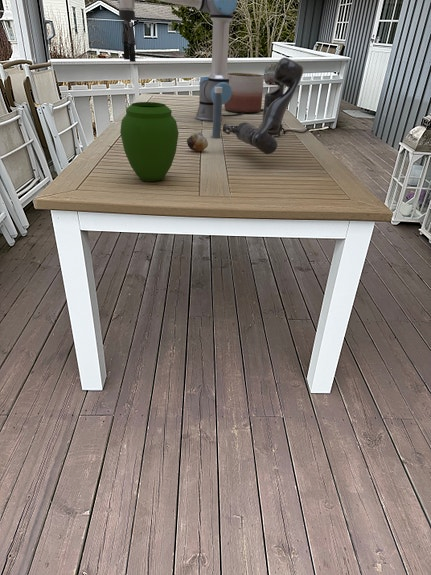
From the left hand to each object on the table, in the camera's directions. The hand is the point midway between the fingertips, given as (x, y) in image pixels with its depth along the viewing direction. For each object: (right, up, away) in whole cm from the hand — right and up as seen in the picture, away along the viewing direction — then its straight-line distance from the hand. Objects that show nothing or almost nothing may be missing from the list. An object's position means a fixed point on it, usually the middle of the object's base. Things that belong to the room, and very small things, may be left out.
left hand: (129, 60), depth 206 cm
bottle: (+44, -38, +2) cm, 58 cm away
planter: (+62, +7, +75) cm, 98 cm away
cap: (+45, -19, -10) cm, 50 cm away
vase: (+20, -76, -60) cm, 99 cm away
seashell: (+35, -54, -24) cm, 69 cm away
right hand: (+52, -41, -20) cm, 69 cm away
